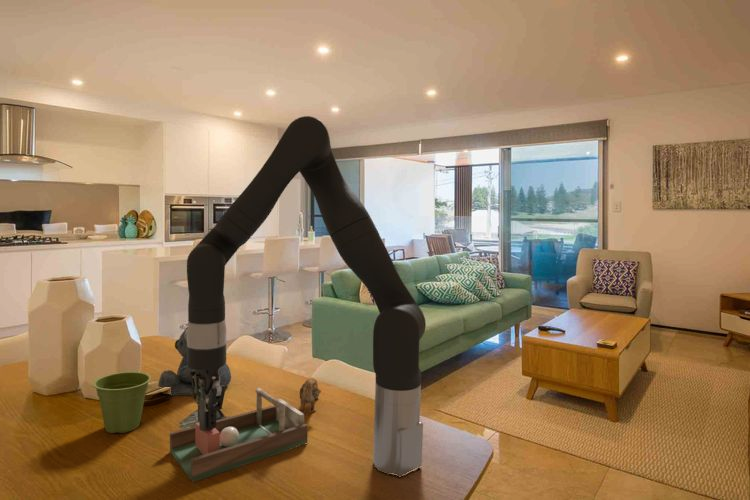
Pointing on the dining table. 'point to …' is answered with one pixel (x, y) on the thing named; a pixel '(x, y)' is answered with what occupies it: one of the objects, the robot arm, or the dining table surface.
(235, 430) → the ball
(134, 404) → the plant pot
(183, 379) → the koala plush
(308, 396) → the lion figurine
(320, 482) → the dining table surface
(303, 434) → the pitch
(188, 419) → the eiffel tower figurine
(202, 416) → the striker
